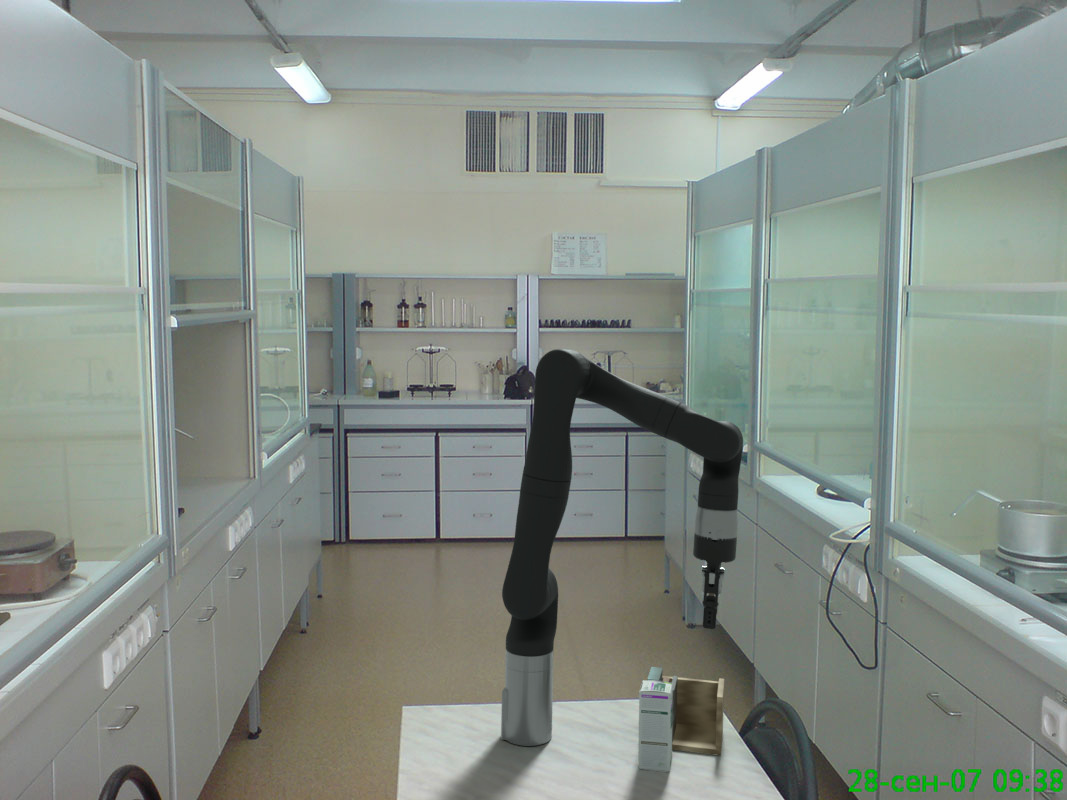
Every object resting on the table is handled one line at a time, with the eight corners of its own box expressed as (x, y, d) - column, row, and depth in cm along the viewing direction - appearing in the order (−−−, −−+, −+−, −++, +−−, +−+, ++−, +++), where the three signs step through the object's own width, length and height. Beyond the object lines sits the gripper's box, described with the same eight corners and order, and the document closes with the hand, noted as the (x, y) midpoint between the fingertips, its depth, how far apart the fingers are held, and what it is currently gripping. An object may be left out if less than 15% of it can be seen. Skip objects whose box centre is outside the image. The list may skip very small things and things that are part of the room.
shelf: (642, 746, 172) (644, 682, 172) (649, 723, 183) (651, 663, 182) (720, 755, 169) (722, 690, 168) (722, 731, 179) (724, 670, 179)
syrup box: (670, 773, 161) (672, 692, 161) (637, 769, 162) (639, 689, 162) (672, 759, 167) (674, 681, 166) (639, 755, 168) (641, 678, 167)
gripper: (696, 523, 171) (691, 608, 172) (692, 538, 157) (686, 630, 158) (737, 527, 169) (731, 612, 170) (736, 542, 155) (730, 635, 156)
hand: (710, 621), depth 164 cm, fingers open, 8 cm apart
